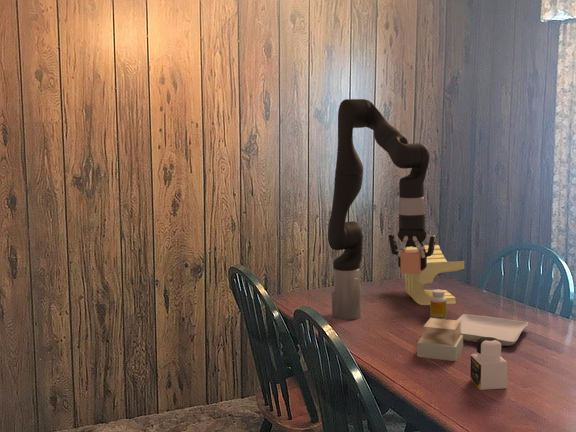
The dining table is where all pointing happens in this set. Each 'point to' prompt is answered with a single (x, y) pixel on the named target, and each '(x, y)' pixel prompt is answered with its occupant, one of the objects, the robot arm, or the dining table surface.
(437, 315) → the supplement bottle
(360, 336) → the dining table surface
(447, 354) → the base block
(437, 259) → the slatted curved stool
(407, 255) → the cube
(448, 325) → the top block
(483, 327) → the salad plate
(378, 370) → the dining table surface
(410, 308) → the dining table surface
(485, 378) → the medicine bottle
